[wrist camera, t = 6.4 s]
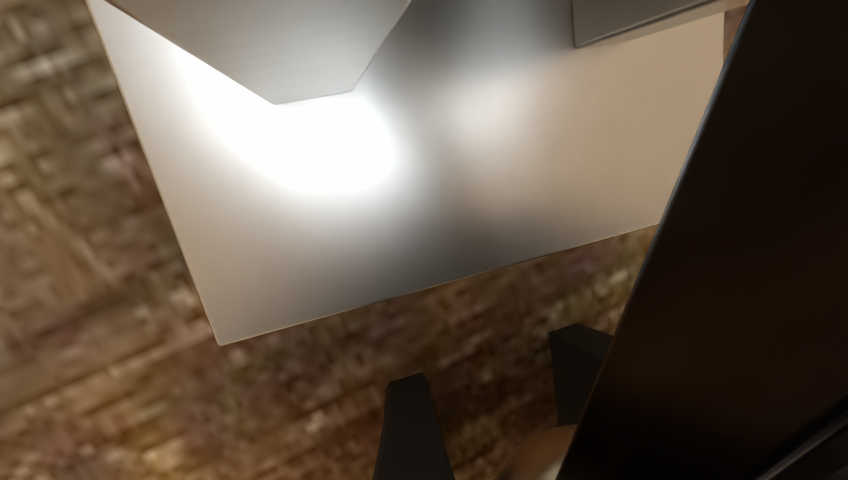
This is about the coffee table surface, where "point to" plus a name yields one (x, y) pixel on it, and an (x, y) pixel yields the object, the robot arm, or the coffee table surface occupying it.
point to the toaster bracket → (402, 136)
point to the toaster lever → (736, 284)
